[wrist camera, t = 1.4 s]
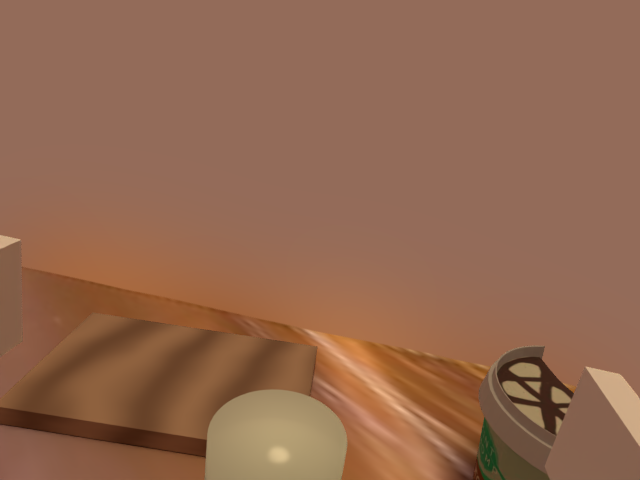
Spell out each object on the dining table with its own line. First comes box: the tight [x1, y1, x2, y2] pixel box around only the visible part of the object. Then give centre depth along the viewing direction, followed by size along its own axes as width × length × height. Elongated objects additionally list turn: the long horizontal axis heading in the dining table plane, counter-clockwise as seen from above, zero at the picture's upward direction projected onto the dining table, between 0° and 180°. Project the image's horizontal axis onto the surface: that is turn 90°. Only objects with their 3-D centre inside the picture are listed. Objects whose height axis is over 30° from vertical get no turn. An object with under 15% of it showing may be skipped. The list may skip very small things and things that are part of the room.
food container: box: [473, 346, 574, 480], centre depth 32 cm, size 12×6×10 cm, turn 4°
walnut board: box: [0, 313, 317, 457], centre depth 42 cm, size 22×14×2 cm, turn 85°
